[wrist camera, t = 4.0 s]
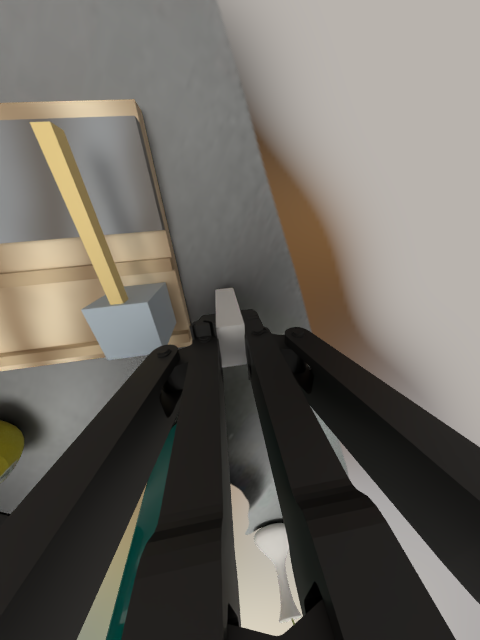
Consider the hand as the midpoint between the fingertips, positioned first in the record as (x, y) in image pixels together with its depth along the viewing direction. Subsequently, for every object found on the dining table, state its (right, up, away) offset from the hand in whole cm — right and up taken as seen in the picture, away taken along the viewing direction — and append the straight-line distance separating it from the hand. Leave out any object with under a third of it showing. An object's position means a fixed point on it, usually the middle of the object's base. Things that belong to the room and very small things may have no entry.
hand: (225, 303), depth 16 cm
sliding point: (-7, +4, -1) cm, 8 cm away
